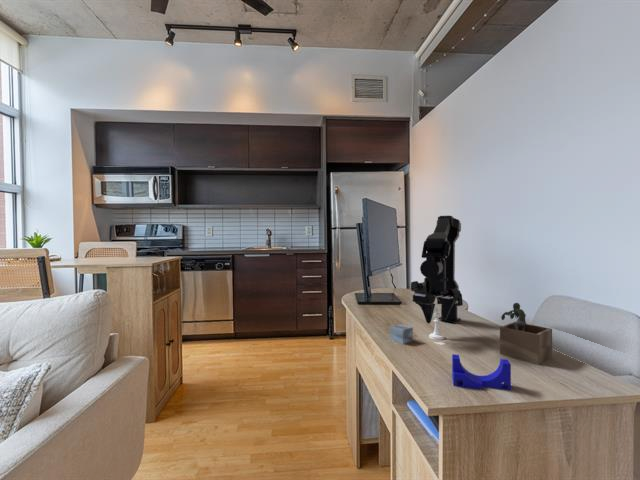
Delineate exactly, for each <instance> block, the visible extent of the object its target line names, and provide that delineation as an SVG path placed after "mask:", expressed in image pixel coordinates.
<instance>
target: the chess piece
mask: <svg viewBox="0 0 640 480" xmlns="http://www.w3.org/2000/svg"><path fill="white" fill-rule="evenodd" d="M439 312H440V309H438V307H435V309H434V312H433V317H434V319H433V322H434V328H433V329H434V330H433V332H431V333H430V334H429V335H428V338H430V339H431V340H438V341H441V340H445V335H444V334H443V333H441V332H440V327H439V323H440V322H441V320H440V319H439V317H441V313H439Z"/></svg>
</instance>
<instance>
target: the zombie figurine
mask: <svg viewBox="0 0 640 480" xmlns="http://www.w3.org/2000/svg"><path fill="white" fill-rule="evenodd" d="M506 316H508V317H510V319H511V320H513V319H514V317H515V319H517V320H516V321H515V322H516V323H515V330H519V326H521V328H522V331H524V332H525V326H526V325H527V324H528V323H527V322H526V317H527V315H526V313H525V311H524V310H523V309H521V305H520V303H518V302H514V303H513V305H512V310H509V311H505V312H504V313H502V314H501V316H500V317H501V321H504V320H505V319H506Z"/></svg>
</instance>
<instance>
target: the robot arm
mask: <svg viewBox="0 0 640 480" xmlns="http://www.w3.org/2000/svg"><path fill="white" fill-rule="evenodd" d="M461 231H462V223H461V221H460V219H457V218H455V217H454V216H452V215H440V216H438V217H437V220H436V225H435V228H434V231H433V233H431V234H429V235H428V236H427V237H426V239H425V240H424V242H423V247H422V251H421V258H422V259H426V260H424V261H422V263H421V264H420V267H419V271H420V274H421V275H423V276H424V279H423V281H422V282H419V281H418V280H414V281H411V282H410V290H411V291H412V292H414V293H413V295H412V302H414V303H415V305H418V306H419V307H420V308H421V311H422V313H423V316H424V319H425V321H426V324H431V323H432V320H433V317H434V313H435V311H434V310H435V309H436V303H435V301H436V302H437V305H440V306H441V309H440V316H439V319H438V320H440V321H446V322H450V323H454V322H455V323H456V322H458V321H462V318H461V317H458V307H460V306H464V305H463V304H464V302H463V294H462V292H461V290H460V287H459V283H457V281H456V279H455V278H456V277H455V271H456V268H455V267H456V266H455V265H456V264H455V263H456V257H455V255H456V242H457V240H458V238H460V232H461Z"/></svg>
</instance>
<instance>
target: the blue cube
mask: <svg viewBox="0 0 640 480" xmlns="http://www.w3.org/2000/svg"><path fill="white" fill-rule="evenodd" d="M413 328H414V327H412V326H408V325H404V324H401V323H400V324H396V325H393V326H392V325H391V326H390V341H392V340H393V341H392V342H394V343H398V344H401V345H405V344H408V343H411V342H413V341H414V335H413V334H414V331H413V330H414V329H413Z"/></svg>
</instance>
